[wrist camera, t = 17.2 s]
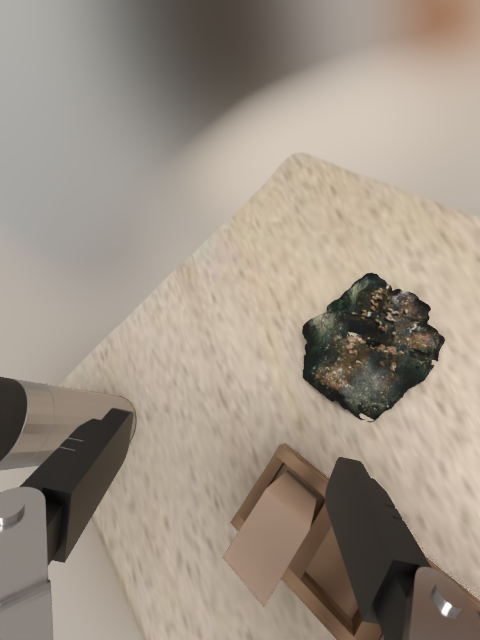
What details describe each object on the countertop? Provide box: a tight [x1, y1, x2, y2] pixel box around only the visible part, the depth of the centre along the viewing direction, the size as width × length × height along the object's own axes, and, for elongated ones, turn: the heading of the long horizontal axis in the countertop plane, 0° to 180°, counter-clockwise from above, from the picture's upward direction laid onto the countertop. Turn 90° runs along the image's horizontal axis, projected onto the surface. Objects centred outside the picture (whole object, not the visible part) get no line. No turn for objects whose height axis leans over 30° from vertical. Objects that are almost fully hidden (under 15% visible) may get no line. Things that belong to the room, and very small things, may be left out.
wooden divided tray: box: [230, 443, 480, 640], centre depth 27 cm, size 22×10×4 cm, turn 53°
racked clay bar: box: [223, 470, 318, 607], centre depth 25 cm, size 4×6×12 cm, turn 143°
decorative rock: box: [302, 273, 445, 422], centre depth 34 cm, size 19×6×15 cm
